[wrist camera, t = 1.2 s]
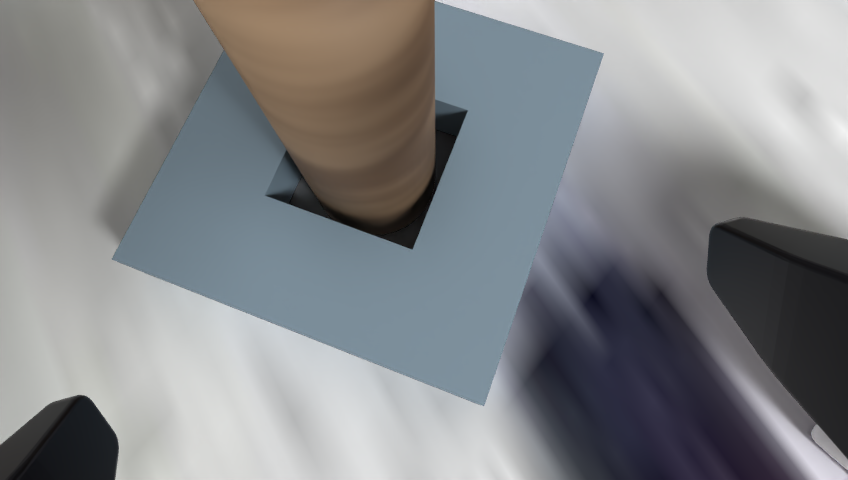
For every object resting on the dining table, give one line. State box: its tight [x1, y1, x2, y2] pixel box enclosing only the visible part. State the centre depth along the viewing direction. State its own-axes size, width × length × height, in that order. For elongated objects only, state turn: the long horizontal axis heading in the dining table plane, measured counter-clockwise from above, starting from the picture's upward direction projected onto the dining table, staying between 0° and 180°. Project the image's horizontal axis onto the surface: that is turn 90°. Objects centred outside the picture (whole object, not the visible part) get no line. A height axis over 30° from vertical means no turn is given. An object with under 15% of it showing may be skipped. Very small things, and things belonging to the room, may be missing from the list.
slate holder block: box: [112, 1, 604, 406], centre depth 22 cm, size 14×14×2 cm
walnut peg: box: [193, 0, 435, 235], centre depth 16 cm, size 5×5×14 cm
